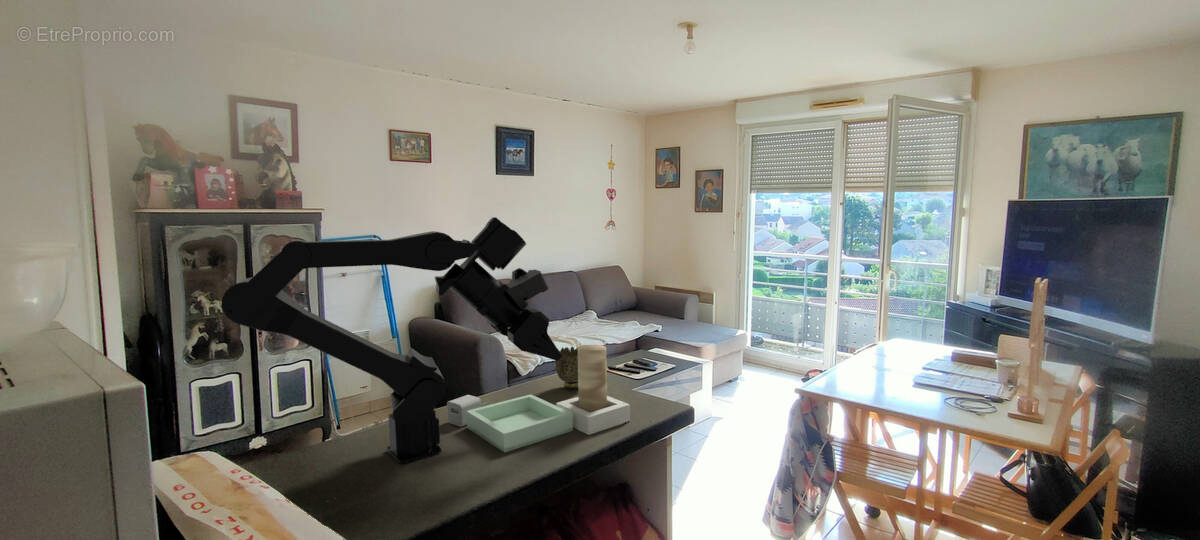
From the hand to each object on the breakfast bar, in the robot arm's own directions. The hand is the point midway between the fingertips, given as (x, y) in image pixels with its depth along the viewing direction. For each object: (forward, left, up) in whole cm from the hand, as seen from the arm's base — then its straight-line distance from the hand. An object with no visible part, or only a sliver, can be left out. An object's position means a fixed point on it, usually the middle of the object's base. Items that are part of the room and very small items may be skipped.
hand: (550, 351), depth 94 cm
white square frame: (+7, -2, -13) cm, 15 cm away
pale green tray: (-5, +3, -13) cm, 14 cm away
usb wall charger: (-9, +13, -13) cm, 21 cm away
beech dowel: (+7, -2, -13) cm, 15 cm away
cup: (+15, +15, -13) cm, 25 cm away
